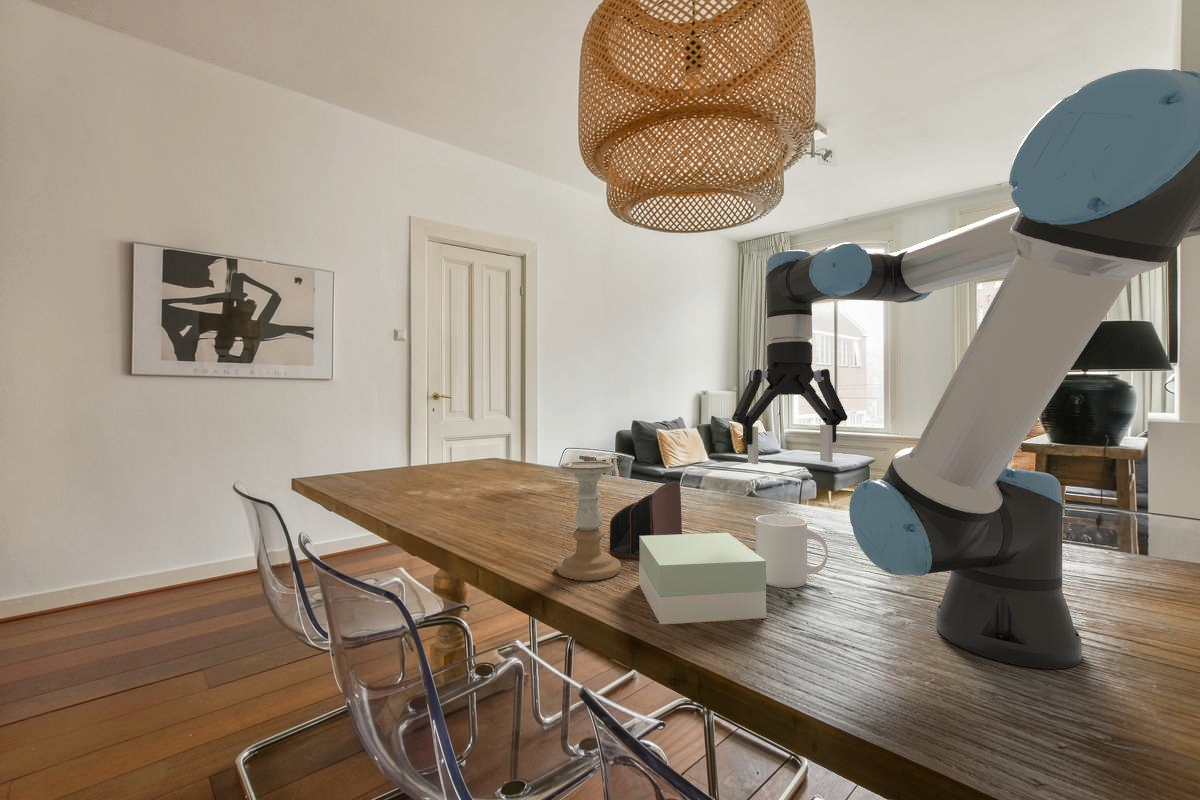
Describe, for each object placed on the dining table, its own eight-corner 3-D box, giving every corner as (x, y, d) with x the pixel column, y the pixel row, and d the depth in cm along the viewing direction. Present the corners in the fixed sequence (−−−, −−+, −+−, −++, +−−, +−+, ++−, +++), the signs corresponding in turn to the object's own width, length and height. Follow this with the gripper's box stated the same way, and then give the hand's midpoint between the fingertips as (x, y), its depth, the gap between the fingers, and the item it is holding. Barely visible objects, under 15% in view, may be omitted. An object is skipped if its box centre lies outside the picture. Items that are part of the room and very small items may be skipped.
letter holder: (682, 538, 121) (682, 477, 121) (654, 563, 103) (653, 492, 103) (642, 533, 125) (641, 475, 125) (608, 557, 107) (607, 489, 107)
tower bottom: (766, 621, 77) (766, 591, 77) (660, 628, 75) (659, 597, 75) (727, 582, 93) (727, 557, 93) (639, 587, 91) (638, 561, 91)
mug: (832, 592, 86) (832, 528, 86) (757, 586, 89) (756, 524, 89) (824, 575, 94) (823, 516, 94) (755, 570, 97) (754, 513, 97)
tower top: (766, 591, 77) (765, 560, 77) (659, 596, 75) (659, 565, 75) (728, 557, 93) (727, 532, 93) (639, 561, 91) (639, 535, 91)
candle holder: (622, 581, 93) (621, 468, 92) (553, 582, 93) (552, 469, 92) (619, 559, 105) (618, 459, 105) (558, 560, 105) (557, 460, 105)
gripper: (843, 344, 97) (844, 458, 97) (713, 344, 94) (714, 461, 94) (868, 340, 89) (869, 463, 89) (728, 339, 86) (729, 467, 87)
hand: (789, 462), depth 92 cm, fingers open, 13 cm apart
